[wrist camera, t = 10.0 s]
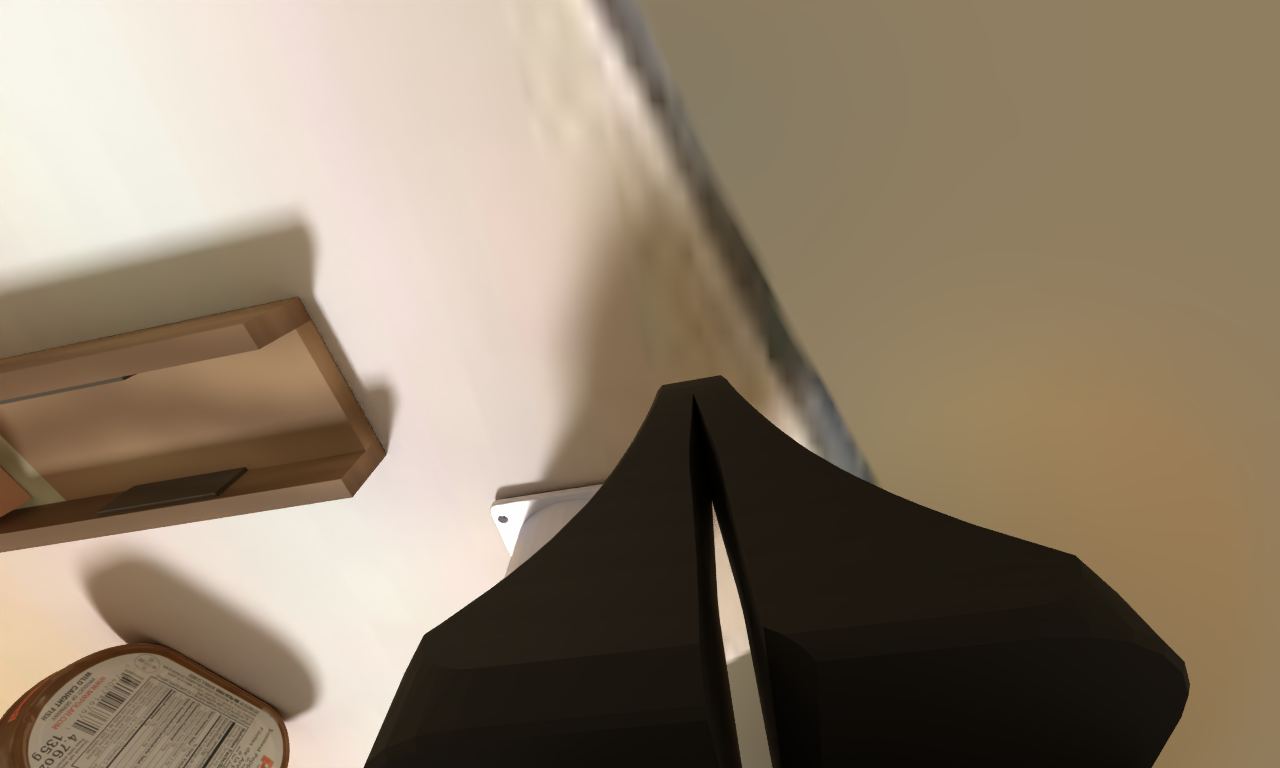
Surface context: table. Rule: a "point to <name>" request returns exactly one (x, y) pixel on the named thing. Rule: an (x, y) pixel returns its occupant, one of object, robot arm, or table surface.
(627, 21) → the table surface
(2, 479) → the block
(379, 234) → the table surface
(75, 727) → the tin
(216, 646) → the table surface
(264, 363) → the chute
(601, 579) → the robot arm
